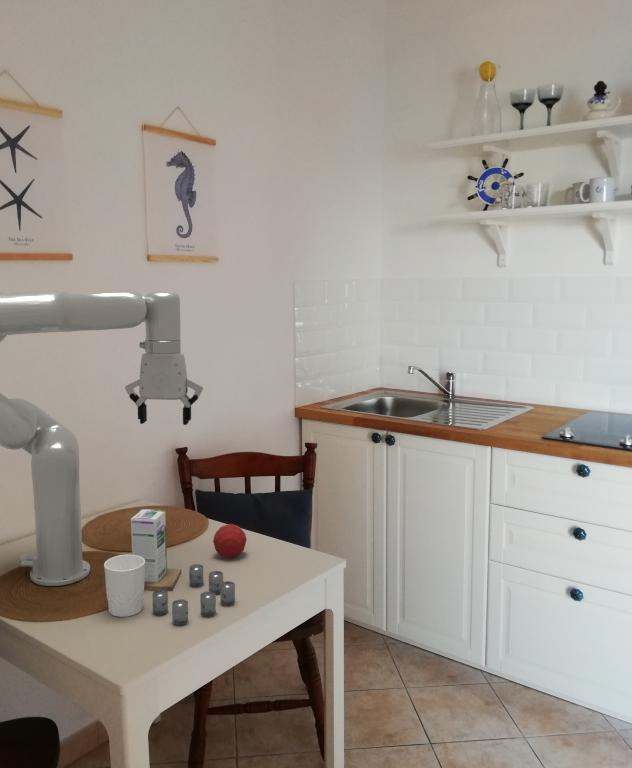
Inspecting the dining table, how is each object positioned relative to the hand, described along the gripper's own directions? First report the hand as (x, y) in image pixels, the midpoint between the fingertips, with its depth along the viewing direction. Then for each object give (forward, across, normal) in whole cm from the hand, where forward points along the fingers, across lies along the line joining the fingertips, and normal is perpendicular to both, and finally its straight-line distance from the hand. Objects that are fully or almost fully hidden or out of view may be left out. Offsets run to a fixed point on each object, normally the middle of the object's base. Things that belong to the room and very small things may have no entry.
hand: (164, 423), depth 160 cm
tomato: (+34, +14, +5) cm, 37 cm away
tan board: (+33, -1, -10) cm, 35 cm away
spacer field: (+33, +11, -19) cm, 40 cm away
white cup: (+34, -3, -23) cm, 41 cm away
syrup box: (+32, -1, -10) cm, 34 cm away
